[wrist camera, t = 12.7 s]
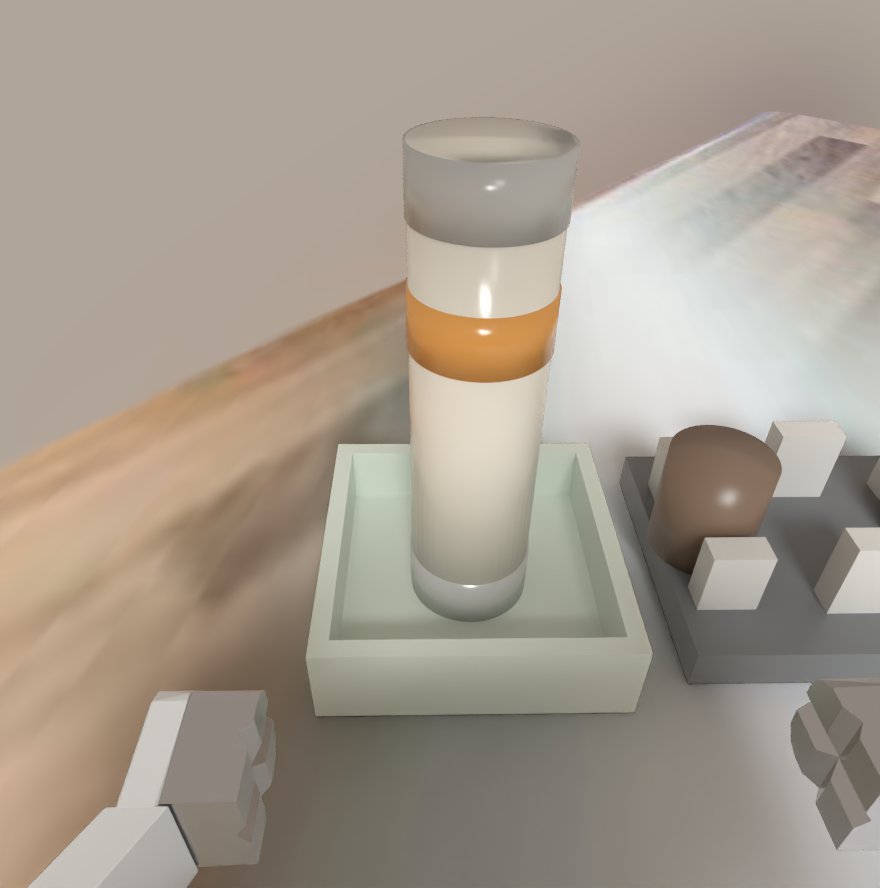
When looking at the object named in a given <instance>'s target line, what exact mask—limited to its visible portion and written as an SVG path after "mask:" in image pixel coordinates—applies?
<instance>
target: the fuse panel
mask: <svg viewBox="0 0 880 888" xmlns="http://www.w3.org/2000/svg"><path fill="white" fill-rule="evenodd" d="M672 438H673V437H660V439H659V443H658V447H657V451H656V455H655V457H626V458H625V462H624V467H623V471H622V476H621V480H620V486H621V489H622V492H623V494H624V497H625V500H626V503H627V506H628V509H629V512H630V515H631V518H632V521H633V524H634V527H635V530H636V533H637V536H638V539H639V541H640V544H641V547H642V550H643V553H644V556H645V559H646V562H647V565H648V568H649V571H650V574H651V577H652V580H653V583H654V586H655V588H656V591H657V594H658V597H659V600H660V603H661V606H662V609H663V612H664V615H665V618H666V621H667V624H668V627H669V630H670V633H671V635H672V638H673V641H674V644H675V647H676V650H677V653H678V656H679V659H680V662H681V665H682V668H683V671H684V674H685V677H686V680H687V682H688V684H713V683H804V682H815V681H818V680H820V679H843V678H870V677H880V456H839V453H840V451H841V449H842V447H843V445H844V442H845V440H846V438H847V436H846V435H845V434H844V432H843V431H842V430H841V429H840V427H839V426H838V425H837V424H836V422H835V421H773V423H772V425H771V428H770V431H769V433H768V436H767V439H766V441H765V444H766V445H768V446H769V447H770V448H771V449H772V450H773V451H774V452H775V454H776V455H777V456H778V458H779V460H780V462H781V465H782V473H781V476H780V478H779V481H778V483H777V486H776V488H775V491H774V493H773V496H772V498H771V501H770V503H769V506H768V508H767V511H766V513H765V516H764V518H763V521H762V523H761V526H760V528H759V531H758V533H757V536H756V537H705V538H704V541H703V544H702V547H701V550H700V553H699V555H698V558H697V561H696V564H695V567H694V570H693V573H692V575H690V574H687V573H684V572H682V571H680V570H677V569H676V568H674V567H672V566H670V565H669V564H667V563H666V562H665V561H663V560H662V559H661V558H660V557H659V556H658V555H657V554H656V553H655V552H654V550H653V549H652V547H651V546H650V543H649V541H648V537H647V528H648V525H649V521H650V517H651V513H652V510H653V506H654V502H655V498H656V494H657V491H658V487H659V483H660V479H661V476H662V472H663V468H664V464H665V461H666V457H667V453H668V449H669V446H670V442H671V440H672Z"/></svg>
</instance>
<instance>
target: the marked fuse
mask: <svg viewBox="0 0 880 888" xmlns="http://www.w3.org/2000/svg"><path fill="white" fill-rule="evenodd" d="M579 147H580V141H579V139H578V138H577V137H576V136H575V135H574V134H572V133H570V132H568V131H567V130H564V129H562V128H559V127H556V126H552V125H548V124H544V123H539V122H534V121H528V120H520V119H510V118H495V117H470V118H454V119H446V120H439V121H434V122H429V123H425V124H421V125H419V126H416V127H414V128H411V129H410V130H408V131H407V132H406V133H405V134H404V135H403V185H404V218H405V221H406V236H407V237H406V239H407V278H406V282H405V288H406V339H407V349H408V352H409V406H410V461H411V517H412V535H411V541H410V542H411V581H412V586H413V589H414V592H415V594H416V595H417V597H418V599H419V600H420V601H421V602H422V603H423V604H424V605H425V606H426V607H427V608H428V609H430V610H431V611H433V612H434V613H436V614H438V615H440V616H442V617H445V618H447V619H451V620H455V621H461V622H479V621H485V620H489V619H492V618H495V617H498V616H500V615H502V614H503V613H505V612H507V611H508V610H509V609H511V608H512V607H513V606H514V605H515V604H516V603H517V601H518V600H519V598H520V596H521V594H522V592H523V589H524V583H525V575H526V567H527V559H528V551H529V540H528V539H529V531H530V523H531V515H532V507H533V499H534V491H535V483H536V475H537V467H538V459H539V451H540V443H541V434H542V426H543V418H544V410H545V402H546V394H547V386H548V378H549V370H550V362H551V358H552V355H553V353H554V345H555V337H556V329H557V321H558V313H559V305H560V297H561V289H562V287H561V283H560V282H561V274H562V266H563V258H564V250H565V242H566V233H567V228H568V226H569V224H570V218H571V210H572V202H573V194H574V187H575V179H576V171H577V162H578V155H579Z"/></svg>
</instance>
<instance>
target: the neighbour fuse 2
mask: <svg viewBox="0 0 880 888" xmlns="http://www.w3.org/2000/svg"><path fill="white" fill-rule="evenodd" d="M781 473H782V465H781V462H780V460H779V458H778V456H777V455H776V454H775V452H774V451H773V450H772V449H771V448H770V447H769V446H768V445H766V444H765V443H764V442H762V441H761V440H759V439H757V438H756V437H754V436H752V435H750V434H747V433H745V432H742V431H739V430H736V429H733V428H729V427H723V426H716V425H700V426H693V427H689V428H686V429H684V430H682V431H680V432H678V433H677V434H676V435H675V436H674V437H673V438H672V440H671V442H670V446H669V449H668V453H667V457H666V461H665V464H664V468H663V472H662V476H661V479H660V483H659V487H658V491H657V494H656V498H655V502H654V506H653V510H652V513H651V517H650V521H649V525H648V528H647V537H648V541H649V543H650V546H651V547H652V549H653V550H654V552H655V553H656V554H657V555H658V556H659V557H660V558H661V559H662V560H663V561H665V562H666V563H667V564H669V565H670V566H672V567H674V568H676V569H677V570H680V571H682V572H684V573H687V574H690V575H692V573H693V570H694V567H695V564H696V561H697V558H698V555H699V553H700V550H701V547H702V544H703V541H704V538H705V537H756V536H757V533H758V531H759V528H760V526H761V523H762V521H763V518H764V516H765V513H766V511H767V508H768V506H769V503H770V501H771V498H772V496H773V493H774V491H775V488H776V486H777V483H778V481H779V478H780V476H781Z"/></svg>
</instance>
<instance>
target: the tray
mask: <svg viewBox="0 0 880 888" xmlns="http://www.w3.org/2000/svg"><path fill="white" fill-rule="evenodd" d="M411 535H412V517H411V461H410V444H338V451H337V457H336V463H335V470H334V476H333V483H332V489H331V496H330V502H329V509H328V515H327V522H326V528H325V535H324V541H323V548H322V554H321V560H320V567H319V573H318V580H317V586H316V593H315V599H314V606H313V612H312V619H311V625H310V632H309V638H308V645H307V651H306V657H305V658H306V664H307V670H308V675H309V681H310V687H311V693H312V698H313V704H314V710H315V716H379V715H462V714H545V713H629V712H635V709H636V706H637V703H638V700H639V697H640V694H641V691H642V687H643V684H644V681H645V678H646V675H647V672H648V669H649V666H650V663H651V659H652V656H653V652H652V649H651V646H650V642H649V639H648V636H647V633H646V629H645V626H644V623H643V620H642V616H641V613H640V610H639V607H638V603H637V600H636V597H635V594H634V590H633V587H632V584H631V581H630V577H629V574H628V571H627V568H626V564H625V561H624V558H623V555H622V551H621V548H620V545H619V542H618V538H617V535H616V532H615V529H614V525H613V522H612V519H611V515H610V512H609V509H608V506H607V502H606V499H605V496H604V493H603V489H602V486H601V483H600V480H599V476H598V473H597V470H596V467H595V463H594V460H593V457H592V454H591V450H590V447H589V444H588V443H552V444H540V451H539V459H538V467H537V475H536V483H535V491H534V499H533V507H532V515H531V523H530V531H529V539H528V540H529V551H528V559H527V567H526V575H525V583H524V589H523V592H522V594H521V596H520V598H519V600H518V601H517V603H516V604H515V605H514V606H513V607H512V608H511V609H509V610H508V611H507V612H505V613H503V614H502V615H500V616H498V617H495V618H492V619H489V620H485V621H479V622H461V621H455V620H451V619H447V618H445V617H442V616H440V615H438V614H436V613H434V612H433V611H431V610H430V609H428V608H427V607H426V606H425V605H424V604H423V603H422V602H421V601H420V600H419V599H418V597H417V595H416V594H415V592H414V589H413V586H412V581H411V542H410V541H411Z"/></svg>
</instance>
